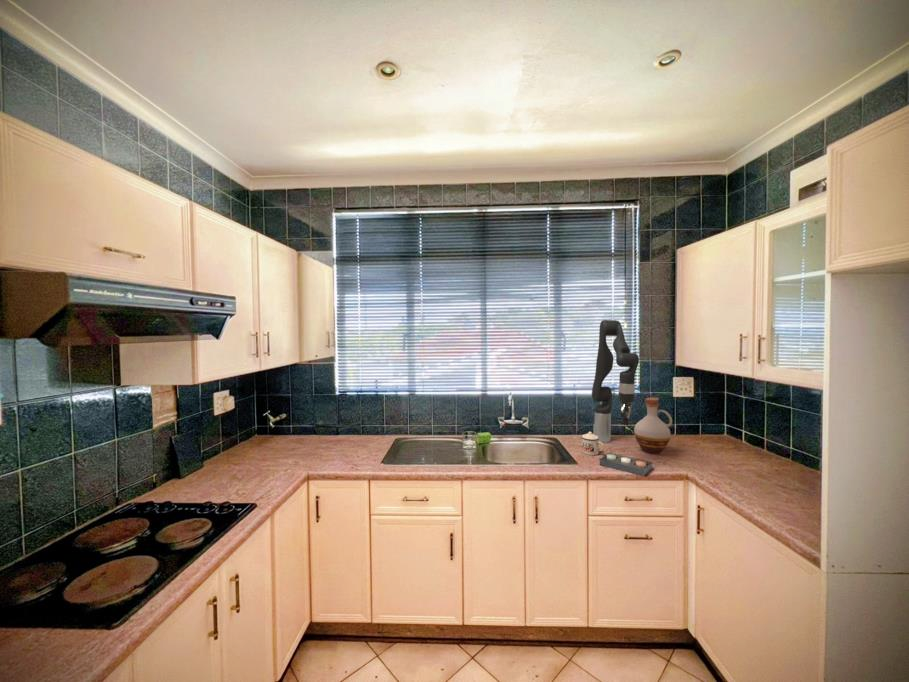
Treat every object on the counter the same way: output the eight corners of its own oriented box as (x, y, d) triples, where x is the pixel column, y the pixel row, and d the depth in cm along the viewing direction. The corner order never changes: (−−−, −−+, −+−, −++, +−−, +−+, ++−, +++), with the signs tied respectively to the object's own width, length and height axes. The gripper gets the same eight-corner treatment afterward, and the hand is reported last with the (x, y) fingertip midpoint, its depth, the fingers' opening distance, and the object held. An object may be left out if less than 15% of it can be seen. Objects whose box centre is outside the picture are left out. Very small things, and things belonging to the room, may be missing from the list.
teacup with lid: (578, 452, 200) (578, 432, 199) (585, 448, 206) (585, 428, 206) (600, 458, 191) (600, 436, 191) (606, 453, 198) (606, 432, 197)
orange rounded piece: (634, 469, 174) (634, 462, 174) (637, 466, 177) (637, 459, 177) (644, 471, 171) (644, 464, 171) (647, 469, 174) (647, 462, 174)
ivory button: (619, 465, 179) (619, 458, 179) (622, 463, 182) (622, 456, 182) (628, 468, 176) (628, 461, 176) (631, 465, 179) (631, 458, 179)
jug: (664, 446, 208) (664, 395, 207) (680, 457, 190) (680, 401, 189) (629, 445, 210) (629, 395, 209) (641, 456, 192) (642, 401, 191)
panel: (599, 465, 182) (599, 459, 182) (609, 458, 191) (609, 452, 191) (644, 476, 167) (644, 470, 167) (652, 468, 177) (652, 462, 176)
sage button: (605, 462, 184) (605, 455, 184) (608, 460, 187) (608, 453, 187) (614, 464, 181) (614, 457, 181) (617, 462, 184) (617, 455, 184)
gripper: (623, 388, 191) (623, 420, 192) (614, 392, 182) (613, 426, 183) (638, 390, 186) (638, 423, 187) (629, 394, 176) (629, 429, 178)
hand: (626, 424), depth 185 cm, fingers closed
